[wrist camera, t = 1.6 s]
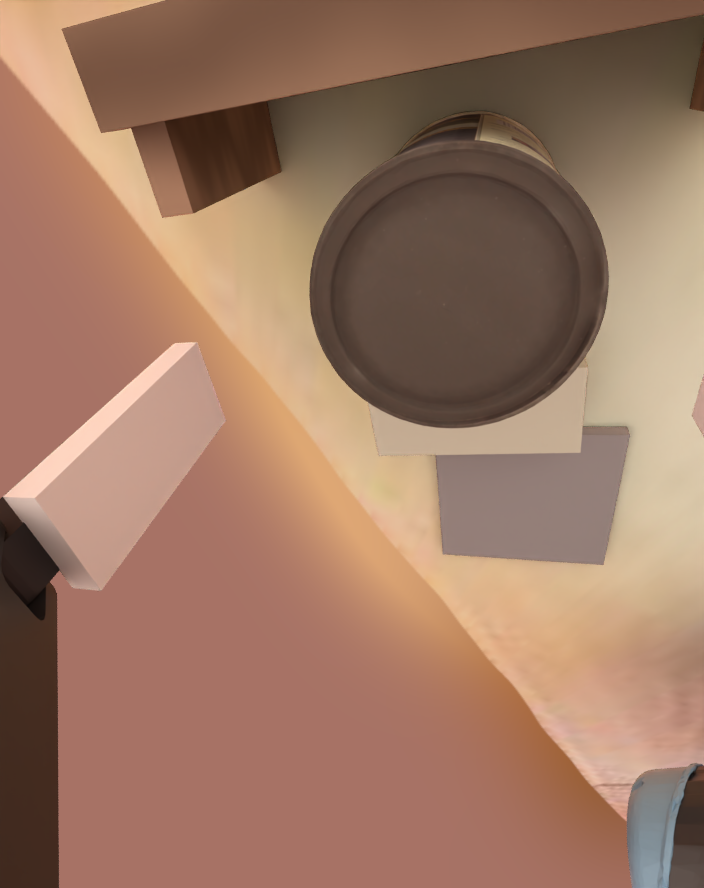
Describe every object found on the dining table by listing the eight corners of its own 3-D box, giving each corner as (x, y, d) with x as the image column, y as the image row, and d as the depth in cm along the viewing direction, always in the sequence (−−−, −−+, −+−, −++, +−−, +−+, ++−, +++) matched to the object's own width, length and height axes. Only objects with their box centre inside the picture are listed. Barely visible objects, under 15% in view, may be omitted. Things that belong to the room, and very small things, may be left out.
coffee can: (367, 289, 32) (302, 402, 21) (390, 97, 26) (315, 117, 15) (526, 318, 31) (545, 454, 20) (592, 125, 25) (673, 169, 14)
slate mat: (601, 555, 41) (603, 564, 40) (443, 545, 45) (442, 554, 44) (626, 426, 34) (629, 435, 33) (435, 427, 37) (434, 434, 36)
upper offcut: (575, 430, 33) (580, 452, 31) (384, 435, 37) (378, 455, 35) (581, 347, 29) (588, 367, 27) (371, 362, 33) (363, 381, 31)
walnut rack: (739, 101, 23) (914, 121, 13) (250, 176, 30) (136, 226, 20) (786, -92, 19) (1069, -249, 10) (218, 44, 26) (61, 28, 17)
